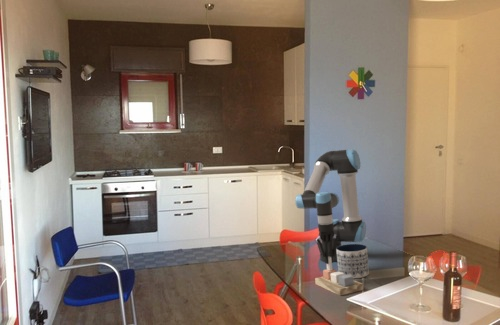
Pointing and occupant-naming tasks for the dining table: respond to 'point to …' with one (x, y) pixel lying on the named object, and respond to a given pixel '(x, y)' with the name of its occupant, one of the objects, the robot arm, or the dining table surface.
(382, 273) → the dining table surface
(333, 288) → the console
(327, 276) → the key
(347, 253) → the planter
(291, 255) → the dining table surface
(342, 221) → the robot arm
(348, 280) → the key
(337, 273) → the key mid
